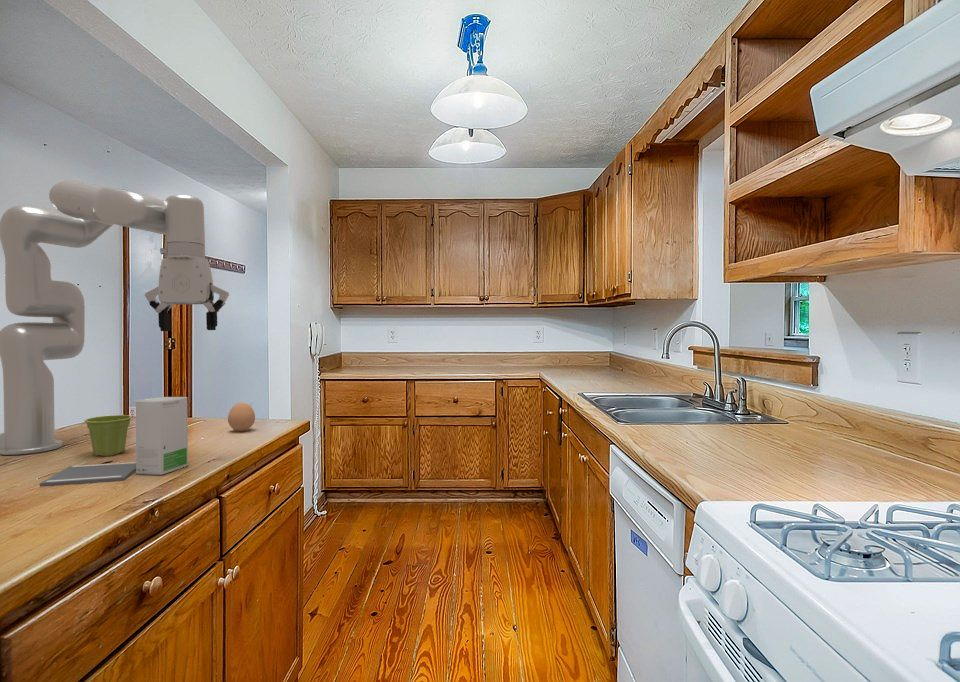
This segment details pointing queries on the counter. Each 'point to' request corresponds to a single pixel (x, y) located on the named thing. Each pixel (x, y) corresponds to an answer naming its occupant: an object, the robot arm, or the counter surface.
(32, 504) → the counter surface
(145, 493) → the counter surface
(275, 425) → the counter surface
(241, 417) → the egg
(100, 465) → the mat
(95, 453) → the plant pot
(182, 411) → the skincare box
